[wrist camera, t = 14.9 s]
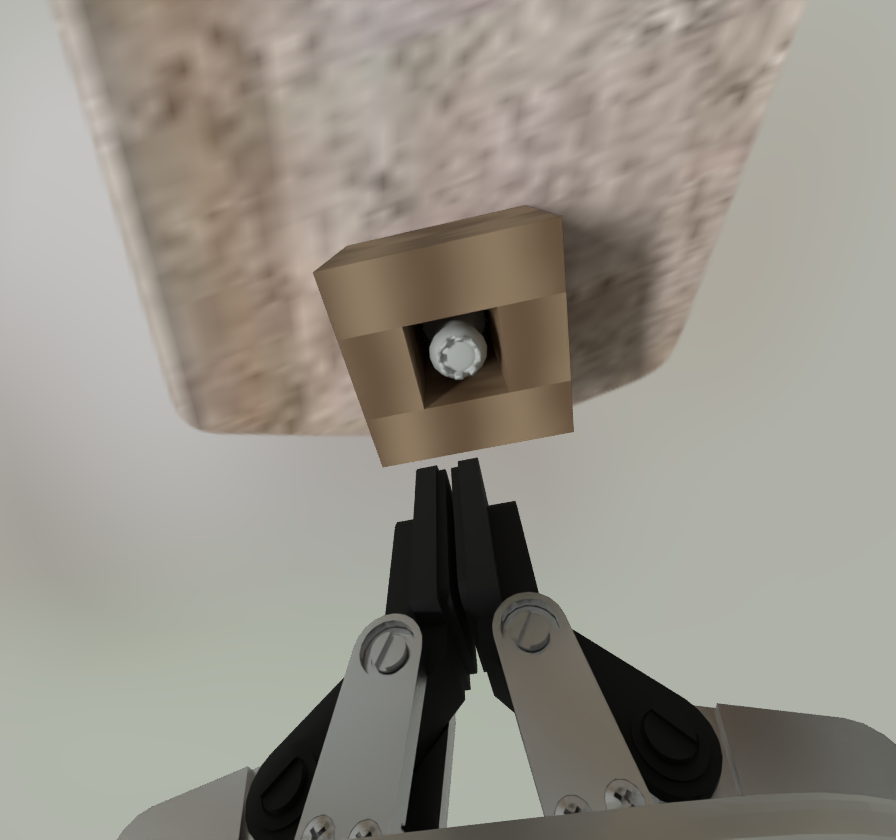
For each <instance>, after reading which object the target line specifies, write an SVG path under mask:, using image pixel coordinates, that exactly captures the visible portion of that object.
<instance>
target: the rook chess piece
mask: <svg viewBox="0 0 896 840" xmlns="http://www.w3.org/2000/svg"><path fill="white" fill-rule="evenodd" d="M422 325H423V330H424V332H425V334H426V336H427V338H428V340H429V341H430V342H431V345H430V360H431V362H432V364H433V366H434V368H435V369H436V370H438V371H439V372H440V373H441V374H442V375H444V376H446V377H450V378H455V380H462V379H463V378H466V377H468V376H473V375H474V374H475V373H476V372H477V371H478V370H479V369H480V368H481V367H482V366H483V363H484V361H485V359H486V357H487V345H486V343H485V340H484V338H483V336H482V335H481V334H482V332H483V330H484V328H485V311H484V310H480V311H475V312H470V313H466V314H461V315H456V316H452V317H447V318H442V319H437V320H433V321H428V322H423V323H422Z"/></svg>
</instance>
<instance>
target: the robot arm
mask: <svg viewBox="0 0 896 840" xmlns="http://www.w3.org/2000/svg"><path fill="white" fill-rule="evenodd" d="M451 476H452V490H451V486H450V483H449V479H448V475H447V472H446V470H445V469H444V470H439V469H438V467H437V465H436V466H431V467H426V468H420V469H417V471H416V485H415V502H414V518H413V520H408V521H402V522H397V524H396V526H395V532H394V542H393V550H392V560H391V568H390V578H389V586H388V595H387V604H386V614H385V615H384V616H382V617H380V618H378V619H376V620H374V621H373V622H372V623H370V624H369V625H368V626H367V627H366V628H365V629H364V630H363V631H362V633H361V634H360V635H359V637H358V639H357V641H356V643H355V645H354V648H353V651H352V655H351V657H350V661H349V664H348V667H347V670H346V674H345V677H344V678H343V679H342V680H341V681H340V682H339V683H338V684H337V685H336V686H335V687H334V688H333V689H332V691H331V692H330V693H329V694H328V695H327V696H326V697H325V698H324V699H323V700H322V701H321V702H320V703H319V704H318V705H317V706H316V707H315V708H314V709H313V710H312V712H311V713H310V714H309V715H308V716H307V717H306V718H305V719H304V720H303V721H302V722H301V723H300V724H299V725H298V726H297V727H296V728H295V729H294V730H293V731H292V732H291V733H290V734H289V736H288V737H287V738H286V739H285V740H284V741H283V742H282V743H281V744H280V745H279V746H278V747H277V748H276V749H275V750H274V751H273V752H272V753H271V754H270V755H269V757H268V758H267V759H266V761H265V762H264V763H263V764H262V766H260V767H258V768H255V769H253V770H252V769H250V768H249V767H245V768H243V769H241V770H238V771H236V772H233V773H231V774H229V775H226V776H224V777H221V778H219V779H217V780H214V781H212V782H210V783H207V784H205V785H202V786H200V787H198V788H195V789H193V790H190V791H188V792H186V793H183V794H181V795H179V796H176V797H174V798H171V799H169V800H167V801H165V802H162V803H160V804H157V805H155V806H152V807H151V808H149V809H148V810H146V811H144V812H143V813H141V814H140V815H138V816H137V817H136V818H135V819H134V820H133V821H132V822H131V823H130V824H129V825H128V826H127V827H126V828H125V829H124V830H123V832H122V833H121V834H120V836H119V837H118V839H117V840H896V744H894V743H893V742H892V741H891V740H890V739H889V738H887V737H886V736H885V735H884V734H882V733H880V732H878V731H876V730H874V729H873V728H871V727H869V726H867V725H865V724H863V723H860V722H856V721H853V720H849V719H845V718H839V717H831V716H821V715H812V714H804V713H796V712H787V711H779V710H770V709H761V708H753V707H744V706H735V705H727V704H718V703H717V705H716V708H711V707H702V706H694V705H692V704H690V702H688V701H687V700H686V699H684V698H682V697H681V696H680V695H678V694H676V693H675V692H673V691H672V690H670V689H668V688H666V687H665V686H663V685H662V684H660V683H658V682H657V681H655V680H654V679H652V678H650V677H649V676H647V675H646V674H644V673H642V672H641V671H639V670H637V669H636V668H634V667H633V666H631V665H629V664H628V663H626V662H624V661H623V660H621V659H620V658H618V657H616V656H615V655H613V654H612V653H610V652H608V651H607V650H605V649H603V648H602V647H600V646H599V645H597V644H595V643H594V642H592V641H591V640H589V639H587V638H586V637H584V636H582V635H581V634H579V633H578V632H576V631H574V630H573V629H572V628H571V626H570V624H569V622H568V620H567V618H566V616H565V614H564V612H563V611H562V609H561V608H560V607H559V605H558V604H557V603H556V602H554V601H553V600H552V599H551V598H549V597H547V596H545V595H542V594H540V593H539V592H538V588H537V584H536V580H535V577H534V572H533V569H532V564H531V561H530V556H529V553H528V548H527V544H526V540H525V537H524V532H523V528H522V524H521V521H520V516H519V513H518V508H517V505H516V502H515V501H512V502H507V503H501V504H495V505H490V506H488V501H487V497H486V492H485V488H484V483H483V479H482V474H481V470H480V465H479V461H478V458H473V459H467V460H462V461H458V467H454V468H451ZM475 646H476V647H475ZM476 648H477V652H478V655H479V658H480V661H481V664H482V667H483V670H484V672H487V674H488V677H489V680H490V684H491V687H492V690H493V693H494V696H495V697H497V698H498V699H499V700H500V701H501V702H502V703H504V704H505V705H506V706H507V707H508V708H509V709H511V710H512V711H513V712H514V713H515V716H516V719H517V723H518V727H519V730H520V734H521V737H522V740H523V744H524V747H525V751H526V754H527V758H528V761H529V764H530V768H531V772H532V775H533V779H534V782H535V786H536V789H537V793H538V796H539V800H540V803H541V807H542V810H543V814H544V817H537V818H529V819H519V820H511V821H502V822H493V823H485V824H476V825H468V826H458V827H450V828H447V817H448V806H449V793H450V783H451V770H452V760H453V748H454V736H455V725H456V722H455V713H456V711H457V710H458V709H459V707H460V706H461V705H462V703H463V702H464V701H465V690H470V689H471V687H470V674H476V673H477V659H476Z"/></svg>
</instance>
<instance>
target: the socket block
mask: <svg viewBox="0 0 896 840" xmlns="http://www.w3.org/2000/svg"><path fill="white" fill-rule="evenodd" d="M313 274H314V277H315V280H316V283H317V285H318V288H319V291H320V294H321V296H322V299H323V302H324V305H325V308H326V310H327V313H328V316H329V319H330V322H331V324H332V327H333V330H334V333H335V336H336V338H337V341H338V344H339V347H340V349H341V352H342V355H343V358H344V361H345V363H346V366H347V369H348V372H349V375H350V377H351V380H352V383H353V386H354V389H355V391H356V394H357V397H358V400H359V402H360V405H361V408H362V411H363V414H364V416H365V419H366V422H367V425H368V428H369V430H370V433H371V436H372V439H373V441H374V444H375V447H376V450H377V453H378V455H379V458H380V461H381V464H382V466H383V467H387V466H392V465H398V464H403V463H409V462H414V461H420V460H425V459H430V458H436V457H441V456H446V455H451V454H457V453H462V452H468V451H473V450H478V449H484V448H489V447H495V446H500V445H505V444H511V443H516V442H522V441H527V440H532V439H538V438H543V437H549V436H554V435H559V434H564V433H570V432H574V427H573V409H572V391H571V372H570V354H569V336H568V318H567V300H566V281H565V263H564V245H563V227H562V216H559V215H556V214H552V213H549V212H545V211H542V210H538V209H535V208H532V207H528V206H525V205H524V206H519V207H515V208H511V209H506V210H502V211H497V212H493V213H489V214H484V215H480V216H476V217H471V218H467V219H463V220H458V221H454V222H450V223H445V224H441V225H436V226H432V227H428V228H423V229H419V230H415V231H410V232H406V233H402V234H397V235H393V236H388V237H384V238H380V239H375V240H371V241H367V242H362V243H358V244H354V245H349V246H346V247H345V248H344V249H342V250H341V251H340V252H338V253H337V254H336V255H335V256H333V257H332V258H331V259H330V260H328V261H327V262H326V263H324V264H323V265H322V266H321V267H319V268H318V269H317V270H316V271H314V272H313ZM485 309H486V315H487V321H488V327H489V334H490V340H487V341H485V343H486V345H487V357H486V359H485V361H484V363H483V366H482V367H481V368H480V369H479V370H478V371H477V372H476V373H475V374H474V375H473V376H468V377H466V378H463V379H462V380H455V378H450V377H446V376H444V375H442V374H441V373H440V372H439V371H438V370H436V369H435V368H434V366H433V364H432V362H431V360H430V353H429V352H426V349H425V345H424V341H423V337H422V333H421V329H420V325H419V323H423V322H428V321H433V320H437V319H442V318H447V317H452V316H456V315H461V314H466V313H470V312H475V311H480V310H485Z"/></svg>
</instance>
